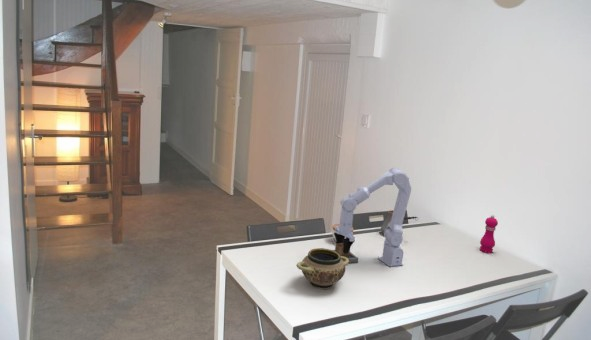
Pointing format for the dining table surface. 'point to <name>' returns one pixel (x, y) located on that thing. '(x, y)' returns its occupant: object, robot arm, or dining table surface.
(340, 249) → the walnut block
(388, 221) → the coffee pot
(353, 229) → the lidded jar
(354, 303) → the dining table surface
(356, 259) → the tray
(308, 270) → the ceramic bowl
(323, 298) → the dining table surface
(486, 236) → the pepper mill
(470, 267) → the dining table surface
